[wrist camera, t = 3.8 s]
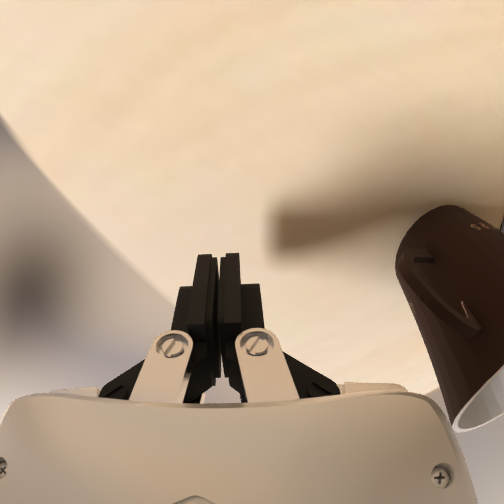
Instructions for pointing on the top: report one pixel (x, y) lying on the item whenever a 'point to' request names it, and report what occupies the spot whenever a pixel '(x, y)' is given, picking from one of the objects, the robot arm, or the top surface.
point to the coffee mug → (458, 308)
